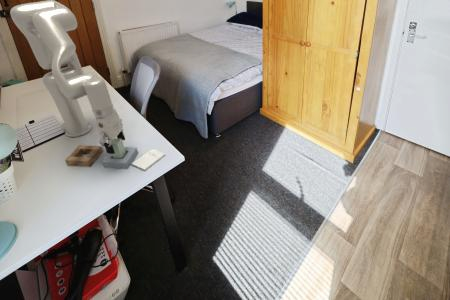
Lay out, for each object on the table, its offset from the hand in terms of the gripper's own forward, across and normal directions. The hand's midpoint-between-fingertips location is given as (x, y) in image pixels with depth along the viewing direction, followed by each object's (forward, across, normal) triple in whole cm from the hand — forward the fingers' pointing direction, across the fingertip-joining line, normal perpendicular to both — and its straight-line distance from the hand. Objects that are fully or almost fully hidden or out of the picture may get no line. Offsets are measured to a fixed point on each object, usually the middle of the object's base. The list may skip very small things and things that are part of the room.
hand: (116, 146), depth 118 cm
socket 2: (+7, 0, 0) cm, 7 cm away
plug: (+7, 0, 0) cm, 7 cm away
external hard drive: (+8, +1, -12) cm, 15 cm away
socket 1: (+7, 0, +17) cm, 19 cm away
